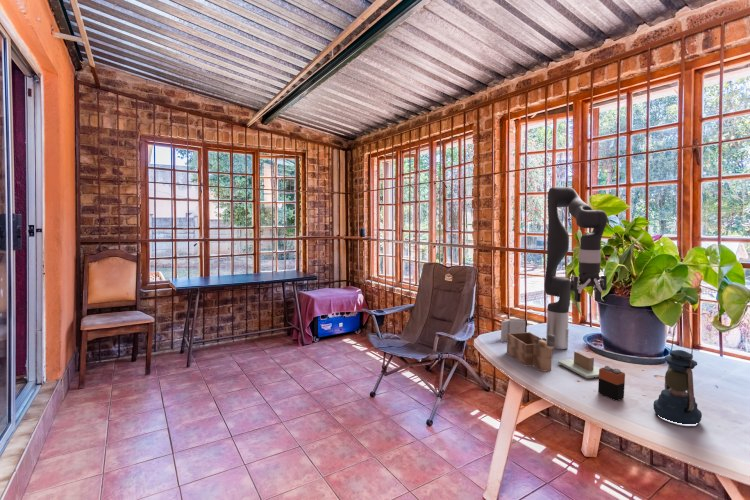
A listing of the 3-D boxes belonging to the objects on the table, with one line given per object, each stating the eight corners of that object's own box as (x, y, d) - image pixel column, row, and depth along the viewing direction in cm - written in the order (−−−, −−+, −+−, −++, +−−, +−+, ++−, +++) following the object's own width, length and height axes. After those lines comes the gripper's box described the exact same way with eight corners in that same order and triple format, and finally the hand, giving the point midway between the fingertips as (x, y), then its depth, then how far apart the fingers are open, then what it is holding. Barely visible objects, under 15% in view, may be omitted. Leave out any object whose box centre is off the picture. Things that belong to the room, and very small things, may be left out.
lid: (557, 365, 165) (558, 349, 165) (579, 362, 168) (580, 346, 167) (586, 380, 150) (587, 363, 149) (610, 377, 153) (611, 360, 152)
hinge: (501, 341, 195) (502, 322, 194) (496, 338, 200) (497, 319, 199) (527, 340, 197) (528, 320, 196) (522, 337, 202) (522, 318, 201)
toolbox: (506, 352, 179) (507, 327, 178) (529, 351, 181) (530, 326, 180) (533, 371, 158) (534, 343, 157) (558, 370, 160) (559, 341, 158)
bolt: (537, 342, 162) (537, 330, 162) (543, 342, 162) (544, 330, 162) (549, 349, 154) (549, 336, 153) (556, 349, 154) (556, 336, 154)
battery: (616, 401, 133) (618, 372, 132) (597, 393, 139) (598, 365, 138) (624, 398, 135) (626, 370, 134) (605, 390, 141) (606, 363, 140)
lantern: (644, 405, 130) (651, 301, 127) (685, 409, 127) (693, 302, 124) (666, 428, 116) (674, 311, 113) (712, 432, 114) (722, 314, 110)
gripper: (599, 259, 160) (597, 298, 162) (567, 260, 158) (565, 300, 159) (612, 261, 153) (610, 302, 154) (579, 262, 150) (577, 304, 152)
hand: (587, 301), depth 157 cm, fingers open, 8 cm apart
